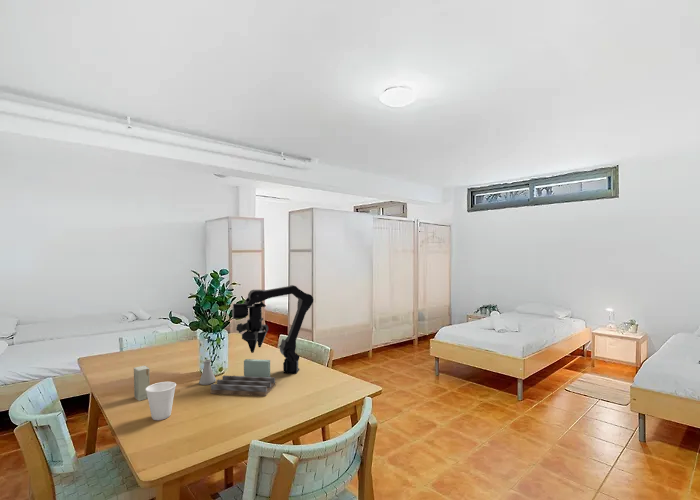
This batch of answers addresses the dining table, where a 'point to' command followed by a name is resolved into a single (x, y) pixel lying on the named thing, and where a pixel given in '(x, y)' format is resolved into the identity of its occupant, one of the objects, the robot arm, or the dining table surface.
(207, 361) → the flask
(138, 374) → the skincare box
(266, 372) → the door panel
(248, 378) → the track base
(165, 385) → the cup
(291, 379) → the dining table surface
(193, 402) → the dining table surface
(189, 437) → the dining table surface
